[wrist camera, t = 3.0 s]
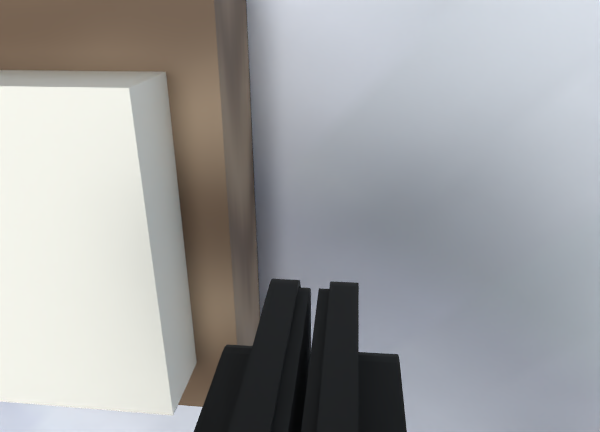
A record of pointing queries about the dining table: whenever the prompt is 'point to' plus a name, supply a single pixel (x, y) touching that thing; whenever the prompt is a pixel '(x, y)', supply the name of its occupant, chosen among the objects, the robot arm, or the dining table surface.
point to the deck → (175, 134)
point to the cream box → (91, 243)
